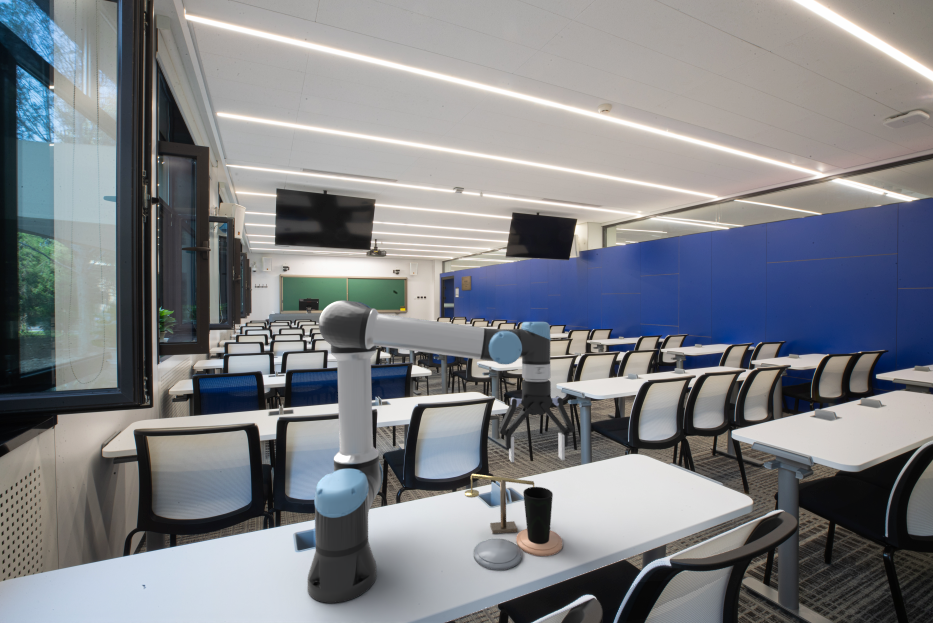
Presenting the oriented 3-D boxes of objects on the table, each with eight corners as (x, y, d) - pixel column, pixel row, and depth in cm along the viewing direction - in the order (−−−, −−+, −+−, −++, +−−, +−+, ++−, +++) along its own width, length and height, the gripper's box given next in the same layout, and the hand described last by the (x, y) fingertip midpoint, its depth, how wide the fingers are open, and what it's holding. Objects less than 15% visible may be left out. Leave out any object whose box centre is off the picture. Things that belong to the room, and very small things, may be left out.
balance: (466, 535, 110) (465, 477, 111) (464, 528, 114) (463, 471, 115) (543, 530, 113) (542, 472, 113) (539, 522, 117) (538, 467, 117)
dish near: (476, 572, 95) (476, 566, 95) (471, 543, 107) (470, 539, 107) (526, 567, 96) (526, 562, 96) (515, 540, 108) (515, 535, 108)
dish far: (522, 558, 100) (522, 553, 100) (512, 532, 112) (512, 528, 112) (569, 554, 101) (569, 549, 101) (553, 529, 113) (553, 525, 113)
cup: (553, 547, 102) (553, 500, 102) (523, 545, 103) (522, 498, 104) (552, 531, 110) (552, 487, 110) (524, 529, 111) (524, 485, 111)
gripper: (492, 382, 102) (492, 466, 102) (586, 380, 105) (587, 462, 104) (487, 378, 110) (488, 456, 109) (576, 376, 112) (576, 452, 112)
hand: (536, 459), depth 107 cm, fingers open, 13 cm apart
